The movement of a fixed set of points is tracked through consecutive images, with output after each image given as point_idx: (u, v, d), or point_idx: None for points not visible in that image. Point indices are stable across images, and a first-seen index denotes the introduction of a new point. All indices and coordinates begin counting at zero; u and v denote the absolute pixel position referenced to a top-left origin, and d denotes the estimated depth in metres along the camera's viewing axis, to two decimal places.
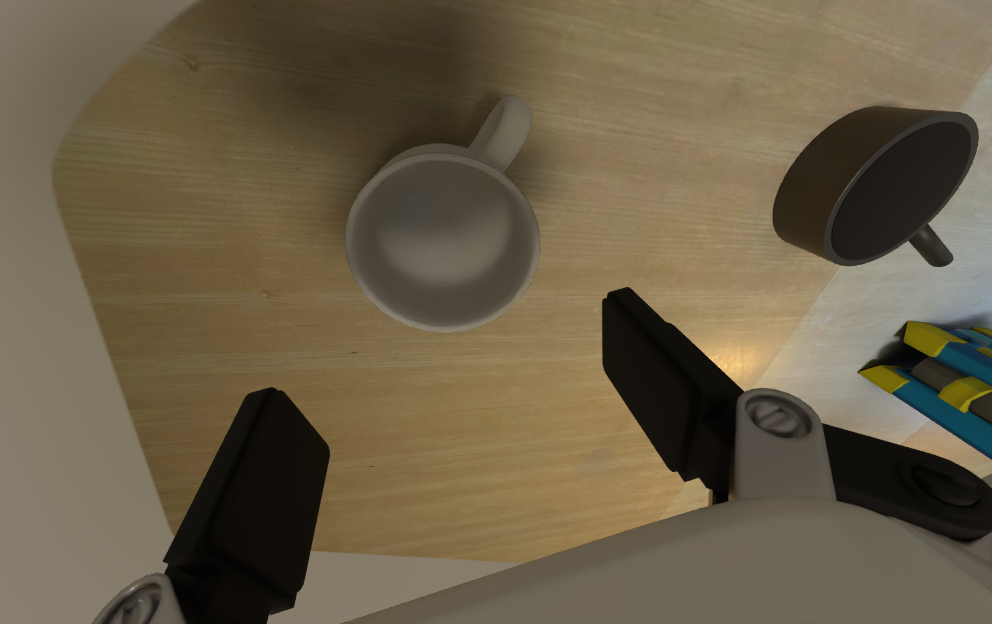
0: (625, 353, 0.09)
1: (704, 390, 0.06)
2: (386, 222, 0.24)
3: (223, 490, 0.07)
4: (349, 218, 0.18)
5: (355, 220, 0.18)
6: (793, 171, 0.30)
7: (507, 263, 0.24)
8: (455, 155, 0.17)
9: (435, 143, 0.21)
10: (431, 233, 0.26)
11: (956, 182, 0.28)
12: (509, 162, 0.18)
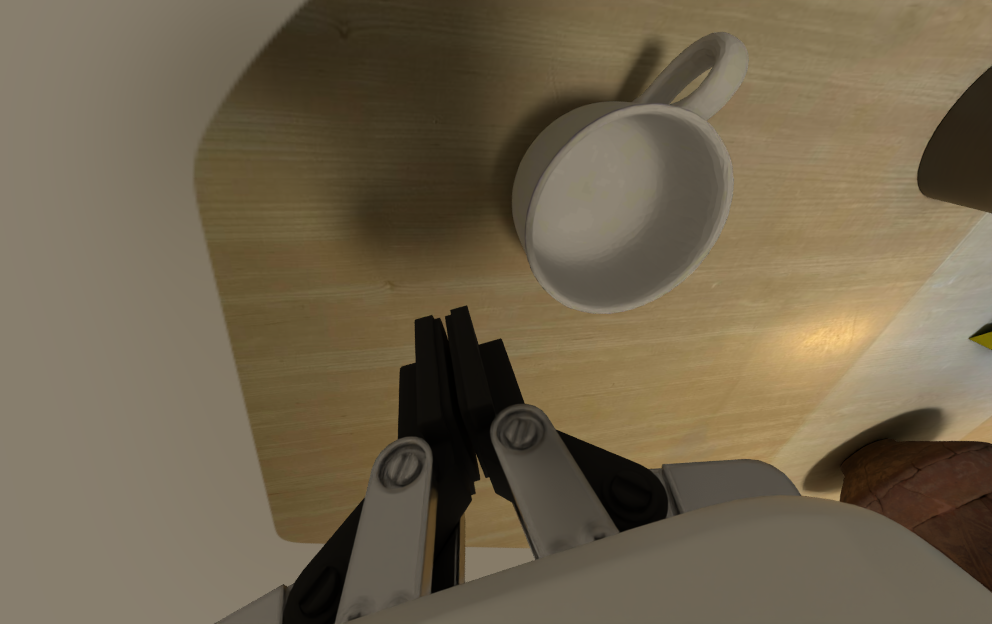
0: None
1: (468, 406, 0.07)
2: None
3: (438, 381, 0.08)
4: (538, 188, 0.16)
5: (541, 191, 0.16)
6: (955, 113, 0.26)
7: (659, 235, 0.22)
8: (666, 105, 0.15)
9: None
10: (568, 208, 0.24)
11: None
12: (716, 111, 0.16)
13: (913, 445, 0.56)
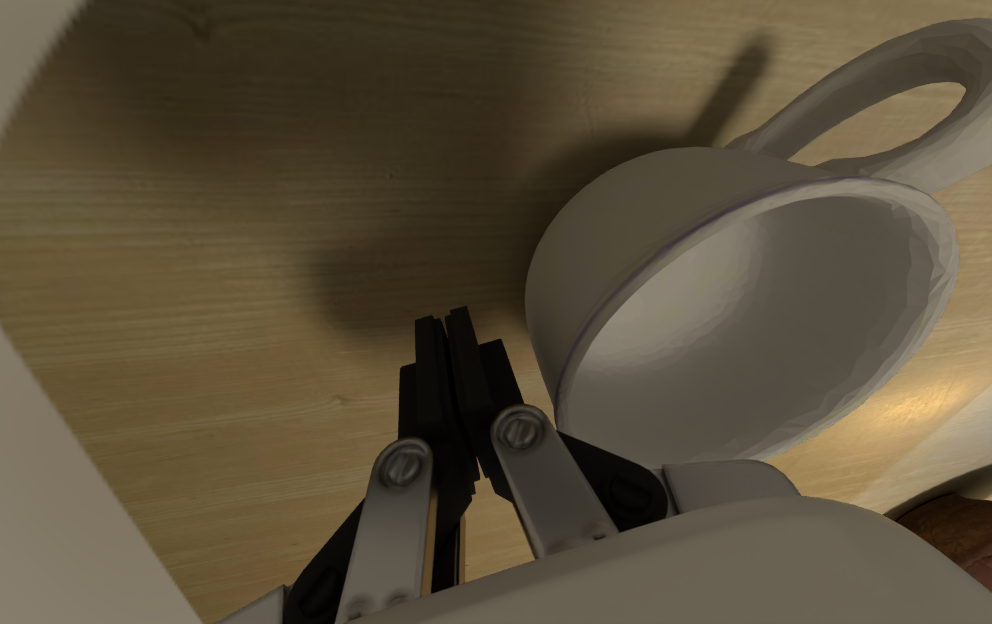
0: None
1: (467, 406, 0.07)
2: None
3: (438, 381, 0.08)
4: (585, 341, 0.08)
5: None
6: None
7: (755, 342, 0.14)
8: (874, 182, 0.07)
9: (683, 148, 0.10)
10: None
11: None
12: None
13: (991, 509, 0.48)
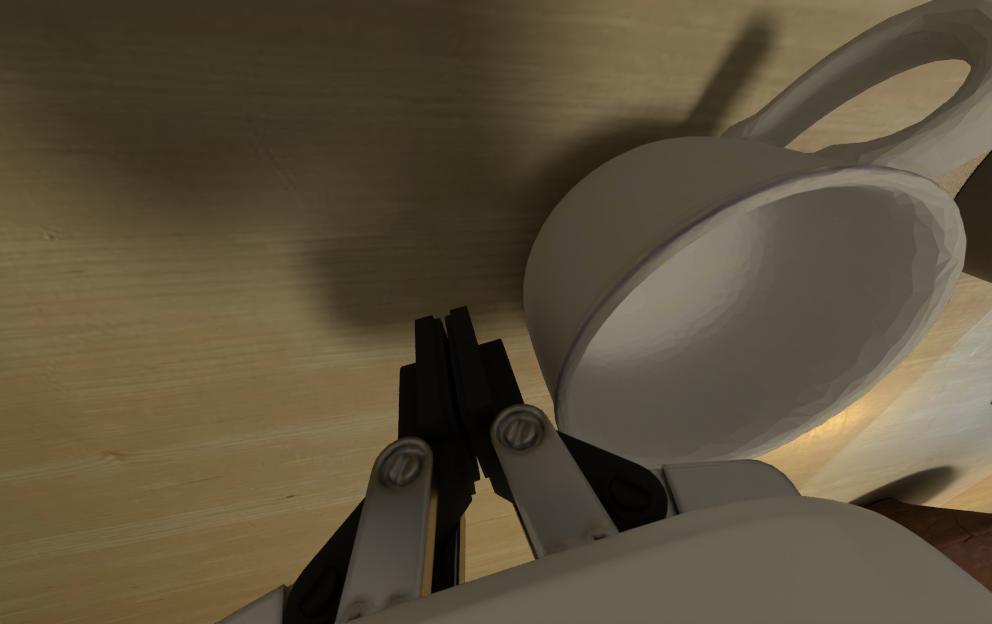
0: None
1: (467, 406, 0.07)
2: None
3: (438, 381, 0.08)
4: (581, 344, 0.08)
5: None
6: None
7: (758, 331, 0.14)
8: (874, 170, 0.06)
9: (678, 139, 0.10)
10: None
11: None
12: (958, 166, 0.07)
13: (920, 516, 0.47)
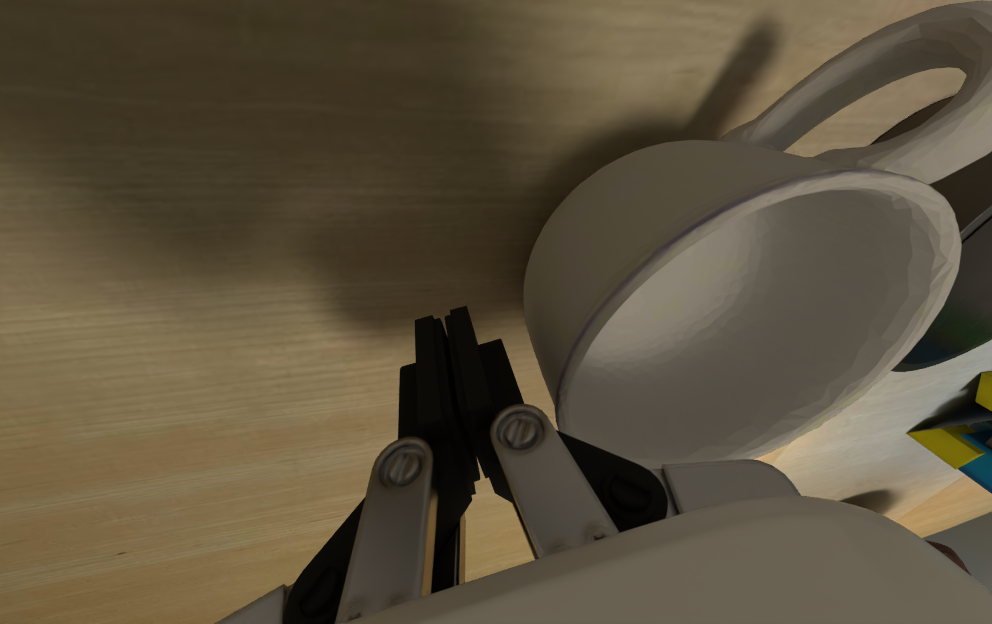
0: None
1: (467, 406, 0.07)
2: None
3: (438, 381, 0.08)
4: (584, 343, 0.08)
5: None
6: None
7: (756, 334, 0.14)
8: (874, 174, 0.07)
9: (679, 142, 0.10)
10: None
11: None
12: (953, 171, 0.07)
13: None
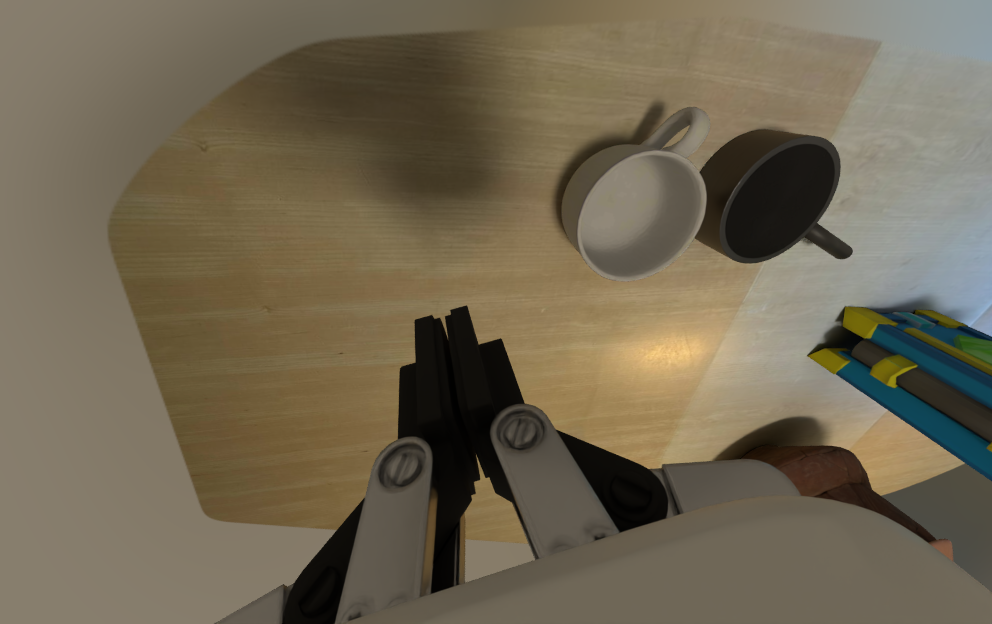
0: None
1: (468, 406, 0.07)
2: None
3: (438, 381, 0.08)
4: (586, 200, 0.26)
5: (588, 201, 0.27)
6: None
7: (661, 229, 0.33)
8: (662, 151, 0.25)
9: None
10: (597, 212, 0.34)
11: (830, 189, 0.33)
12: (692, 152, 0.26)
13: (781, 449, 0.64)
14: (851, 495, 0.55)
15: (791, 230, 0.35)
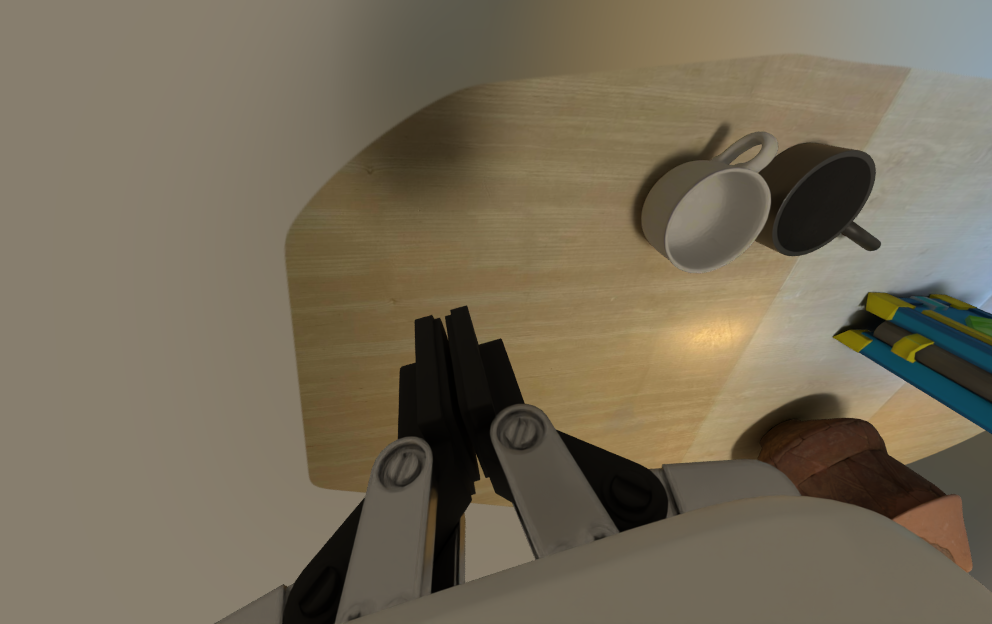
0: None
1: (468, 406, 0.07)
2: None
3: (438, 381, 0.08)
4: (676, 208, 0.33)
5: None
6: None
7: (724, 229, 0.39)
8: (740, 168, 0.32)
9: (698, 160, 0.35)
10: None
11: (866, 193, 0.40)
12: (762, 168, 0.32)
13: (806, 422, 0.71)
14: (871, 459, 0.62)
15: (831, 227, 0.41)
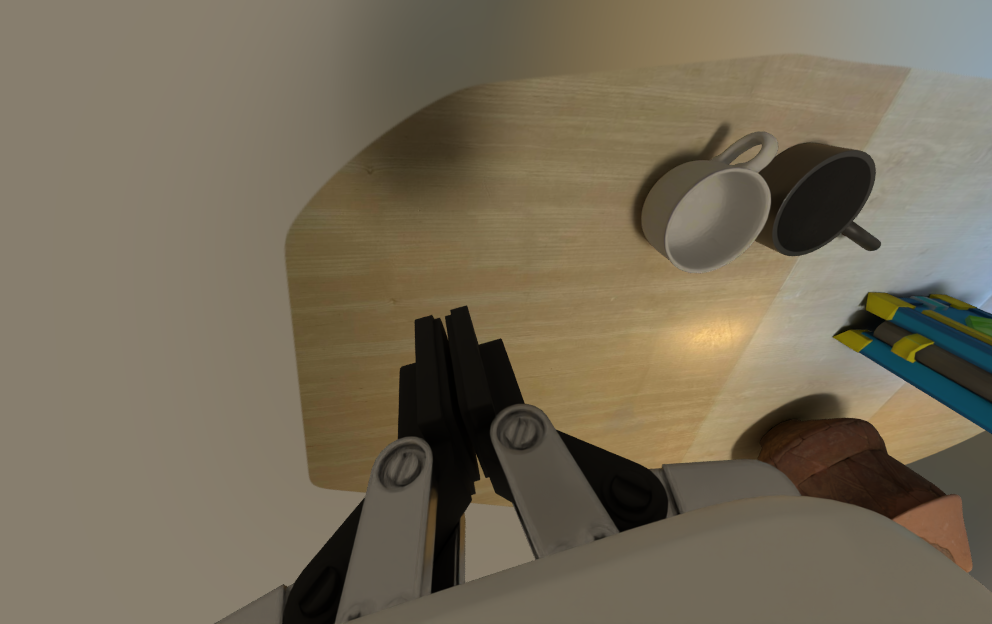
0: None
1: (468, 406, 0.07)
2: None
3: (438, 381, 0.08)
4: (676, 208, 0.33)
5: None
6: None
7: (724, 229, 0.39)
8: (740, 168, 0.32)
9: (698, 160, 0.35)
10: None
11: (866, 193, 0.40)
12: (762, 168, 0.32)
13: (806, 422, 0.71)
14: (871, 459, 0.62)
15: (831, 227, 0.41)
